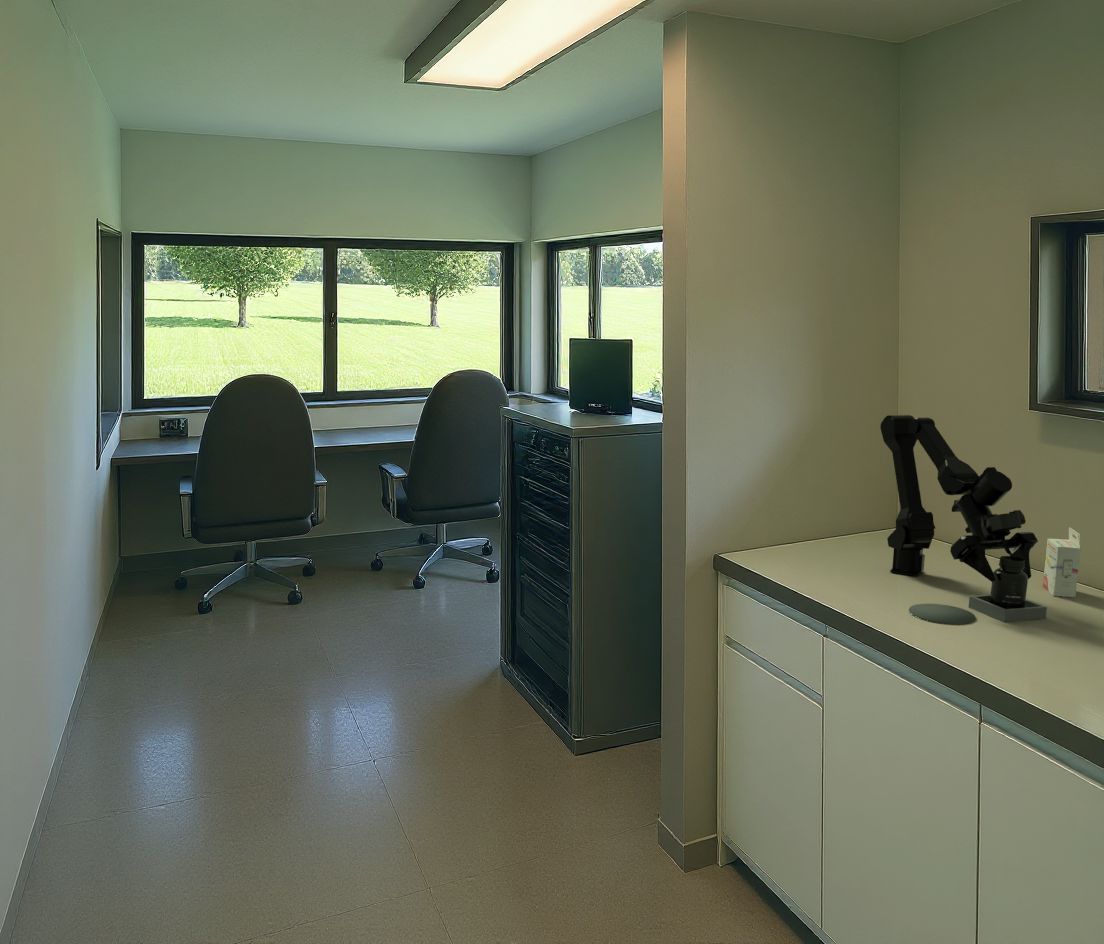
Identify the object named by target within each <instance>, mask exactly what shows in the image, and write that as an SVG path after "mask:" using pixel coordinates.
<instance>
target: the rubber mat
mask: <svg viewBox="0 0 1104 944" xmlns="http://www.w3.org/2000/svg"><path fill="white" fill-rule="evenodd" d="M909 611H910V613H912V614H913V615H914V616H913V615H912V616H913V617H915V616H917V617H919V618H921V619H920V620H922V619H925V620H924V621H926V620H928V621H927V622H930V621H932V622H931V623H935V622H936V624H941V623H944V624H943V625H955V624H957V625H967V624H971V623H973V622H974V621H975V620H976V615H975V614H974V613H973V612H971V611H969V610H966V609H964V608H961V607H957V606H952V605H949V604H942V603H941V604H940V603H917V604H913V605H911V606H910V607H909V608H908V612H909ZM910 613H909V614H910ZM917 617H916V618H917ZM919 618H918V619H919Z"/></svg>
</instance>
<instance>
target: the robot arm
mask: <svg viewBox="0 0 1104 944" xmlns="http://www.w3.org/2000/svg"><path fill="white" fill-rule="evenodd" d="M879 428H880V433H881V435H882V440H883V442H884V444H885V445H886V447H888V449H889V450H890V451H891V454H892V459H893V461H892V462H893V466H894V474H895V480H896V487H897V492H898V500H899V506H900V510H899V512H898V515H897V517H896V519H895V529H894V530H893V531H892V532H891V533H890V534H889V535H888V536H887V546H888V547H889V548H892V549H893V554H892V567H891V568H890V570H889V573H894V574H900V575H901V574H902V575H906V576H912V577H914V576H915V577H918V576H919V575H920V574H922V573H923V572H924V571H925V560H926V559H925V557H926V556H925V554H924V549H926V550H927V549H929V548H930V547H931V544H932V542H933V539H934V536H935V529H936V525H935V522H934V514H933V512H931V511H927V510H926V509H925V508H924V507H923V503H922V496H921V491H920V483H919V476H918V471H917V463H916V458H915V452H914V448H915V446H916V444H917V442H919V444H920V446H921V447H922V448H923V450H924V452H925V453H926V454H927V456H928V458H929V459H930V460H931V462H932V463H933V465H934V466H935V468H936V469H937V477H936V478H937V481H938V483H939V486H940V487H941V489H942V492H944V494H946V496H961V497H960V498H959V499H954V500H953V505H952V507H951V512H952V513H960V514H961V515H962V518H963V520H964V521H965V523H966V525H967V526H966V527H965V529H964V531H965V533H966V534H970V535H961V536H960V537H959V538H958V539H957V540H956V541H955V542H954V543H953V544H952V545H951V546H950V550H949V551H950V554H951V556H952V558H953V560H954V561H955V560H958V561H959V562H960V563H964V564H966V565H967V566H969V567H970V568H972V569H974V570H975V571H976V572H977V573H978V574H980V575H982V576H983V577H984V578H985V579H987V580H988V581H989V582H991V583H992V582H993V581H995V576H994V573H993V572H994V571H993V569H992V567H991V565H990V563H989V561H988V559H987V557H986V550H987V551H988V550H1000V549H1001V550H1002V549H1003V550H1004V551H1005V552H1006V554H1008V556H1013V557H1019V558H1022V559H1024V560H1025V564H1024V569H1023V571H1024V572H1025V573H1026V574H1027V576H1028V580H1029V579H1031V578H1032V570H1031V564H1030V552H1031V549H1033V548H1034V547H1035V545H1036V544H1037V543H1038V542H1039V540H1038V538H1037V537H1036V534H1035V533H1034V532H1031V531H1020V532H1019V531H1018V532H1016V533H1014V534H1013V535H1012V536H1011V537H1010V538H1006V537H1007V536H1008V537H1009V535H1010V534H1012V532H1011V531H1012V530H1015V529H1021V528H1022V525H1025V524H1026V518H1025V515H1024V513H1023V512H1022V510H1021V509H1014V510H1013V511H1009V512H1008V513H1000V514H997V513H994V514H993V512H992V510H991V509H990V507H994V506H995V505H997V504H998V503H999V502H1000V500H1002V499H1003V498H1004V497H1005V496H1006V495H1007V494H1008V493H1009V492H1010V491H1011V490H1012V488H1013V482H1012V480H1011V478H1010V477H1008V476H1007V475H1006V474H1004V473H1003V472H1001V471H998V470H997V468H996V467H995V466H990V467H989V466H987V467H986V468H984V470H983V471H982V473H981V474H980V475H978V473H977V471H975V470H974V468H973V467H972V466H971V465H970V464H968V463H966V462H965V461H963V460H961V459H959V457H957V455H956V454H955V452H954V451H953V450H952V448H951V447H950V446H949V444H948V443H947V441H946V440H945V438H944V436H942V434H941V432H940V431H939V430H938V428H937V426H936V423H935V420H933V418H930V417H927V416H926V417H914V416H913V415H911V414H891V415H890V414H889V415H888V414H887V415H886V416H885V417H884V418H883V420H882V421H881V422H880V427H879Z"/></svg>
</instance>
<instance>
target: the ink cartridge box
mask: <svg viewBox="0 0 1104 944" xmlns="http://www.w3.org/2000/svg"><path fill="white" fill-rule="evenodd" d="M1045 552H1046V553H1045V562H1044V572H1043V582H1042V587H1043V588H1044V589H1045V590H1046V591H1047V592H1048V593H1049V594H1051V595H1052V596H1053V597H1060V596H1062V597H1063V598H1076V595H1077V585H1078V577H1079V576H1078V575H1079V566H1080V556H1081V534H1080V533H1079V532H1078V531H1076V530H1074V529H1073V528H1071V526H1070V527H1068V539H1065V538H1064V539H1061V538H1049V537H1048V538H1047V539H1046V551H1045Z"/></svg>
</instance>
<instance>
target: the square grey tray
mask: <svg viewBox="0 0 1104 944" xmlns="http://www.w3.org/2000/svg"><path fill="white" fill-rule="evenodd" d="M990 594H991V593H990ZM990 594H989V593H988V594H980V595H978V594H977V595H969V597H968V608H969V609H972V610H974V611H977V612H979V613H981V614H983V615H986V616H988V617H991V618H992V619H995V620H998V621H1000V622H1003V623H1012V622H1023V621H1032V620H1033V621H1034V620H1043V619H1046V620H1047V611H1048V607H1047V606H1045V605H1043V604H1041V603H1037V602H1034V601H1032V600H1029V599H1027V598H1026V601H1025V608H1015V609H1004V608H1001V607H999V606H996V605H994V604H991V603H990Z"/></svg>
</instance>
